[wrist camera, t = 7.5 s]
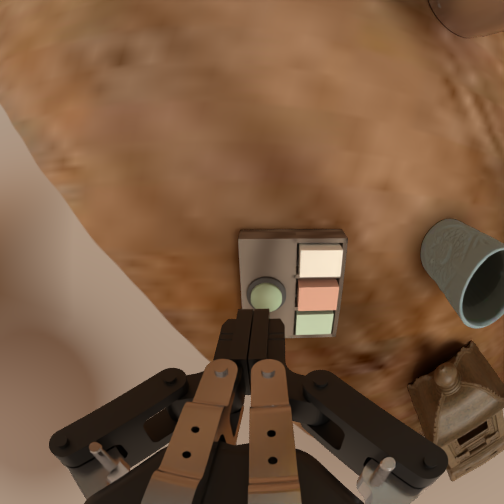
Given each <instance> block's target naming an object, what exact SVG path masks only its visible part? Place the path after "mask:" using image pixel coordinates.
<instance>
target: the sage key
mask: <svg viewBox="0 0 504 504" xmlns="http://www.w3.org/2000/svg"><path fill="white" fill-rule="evenodd" d="M333 315H334V313H333V310H322V311H295V333H296V335H314V334H331V329H332V322H333Z"/></svg>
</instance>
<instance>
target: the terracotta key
mask: <svg viewBox="0 0 504 504" xmlns="http://www.w3.org/2000/svg"><path fill="white" fill-rule="evenodd" d="M338 293H339V285H338V282H337V280H336V278H298V281H297V307H298V311H322V310H336V309H337V301H338Z"/></svg>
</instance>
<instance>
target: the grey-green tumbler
mask: <svg viewBox="0 0 504 504" xmlns="http://www.w3.org/2000/svg"><path fill="white" fill-rule="evenodd" d="M421 261H422V265H423V267H424V269H425V270H426V272H427V273H428V274H429V276H430V277H431V278H432V279H433V280H435V282H436V283H437V285H438V286H439V288H440V290H441V291H442V292H443V293H444V294H445V296H446V298H447V299H448V301H449V302H450V304H451V305H452V307H453V308H454V310H455V311H456V312H457V314H458V315H459V317H460V318H461V320H462V321H463V323H464V324H465V325H467V326H468V327H471V328H482V327H485V326H488V325H490V324H492V323H493V322H495V321H496V320H497V319H499V318H500V317H501V316H502V315H503V314H504V244H503V243H501V242H499V241H498V240H496V239H494V238H492V237H490V236H488V235H486V234H484V233H481V232H480V231H478V230H476V229H475V228H472V227H470V226H468V225H466V224H464V223H462V222H460V221H458V220H456V219H444V220H443V221H442V220H441V221H440V222H438V223H437V224H436V225H434V226H433V227H432V228H431V229H430V230H429V232H428V233H427V234H426V236H425V238H424V240H423V243H422V246H421Z"/></svg>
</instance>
